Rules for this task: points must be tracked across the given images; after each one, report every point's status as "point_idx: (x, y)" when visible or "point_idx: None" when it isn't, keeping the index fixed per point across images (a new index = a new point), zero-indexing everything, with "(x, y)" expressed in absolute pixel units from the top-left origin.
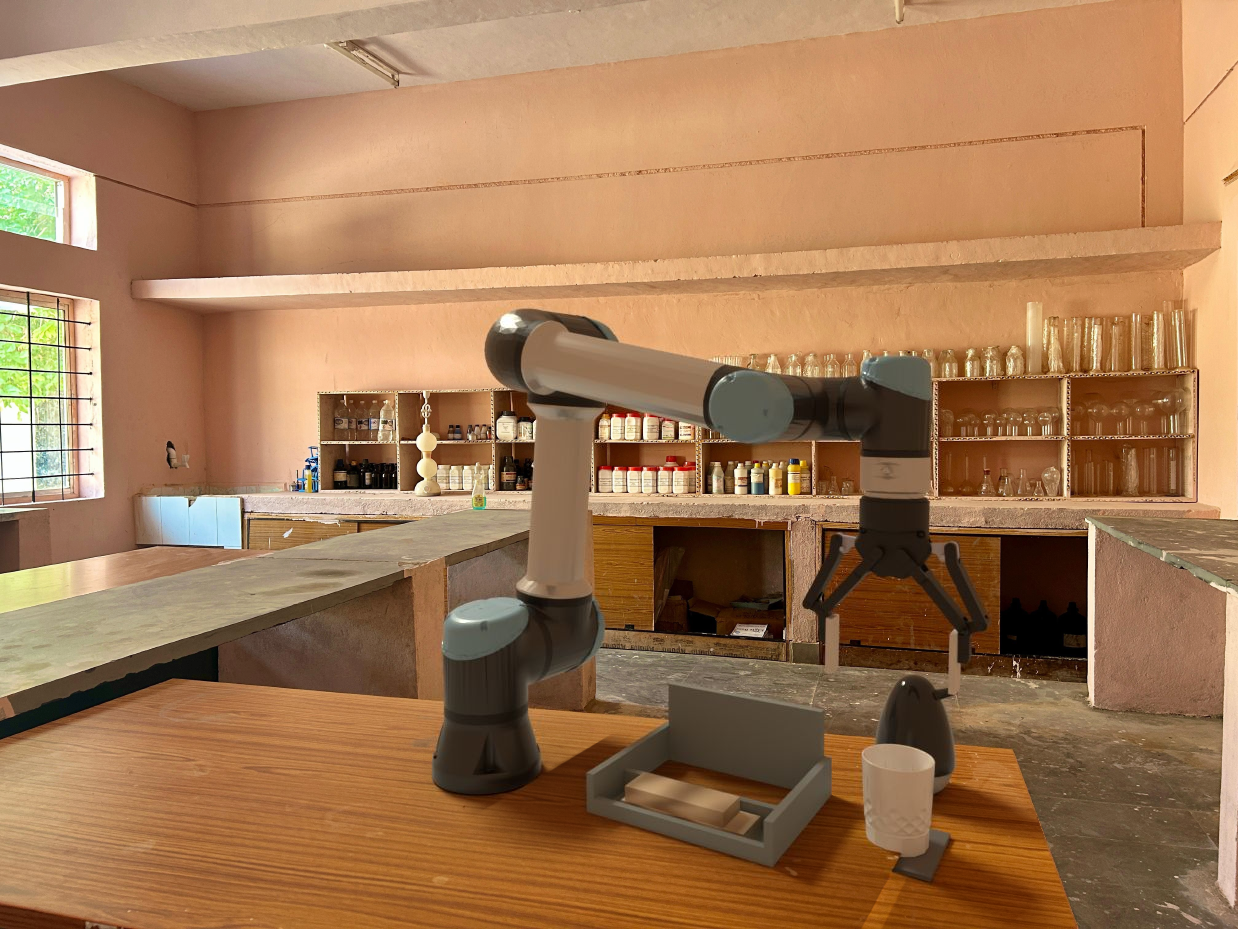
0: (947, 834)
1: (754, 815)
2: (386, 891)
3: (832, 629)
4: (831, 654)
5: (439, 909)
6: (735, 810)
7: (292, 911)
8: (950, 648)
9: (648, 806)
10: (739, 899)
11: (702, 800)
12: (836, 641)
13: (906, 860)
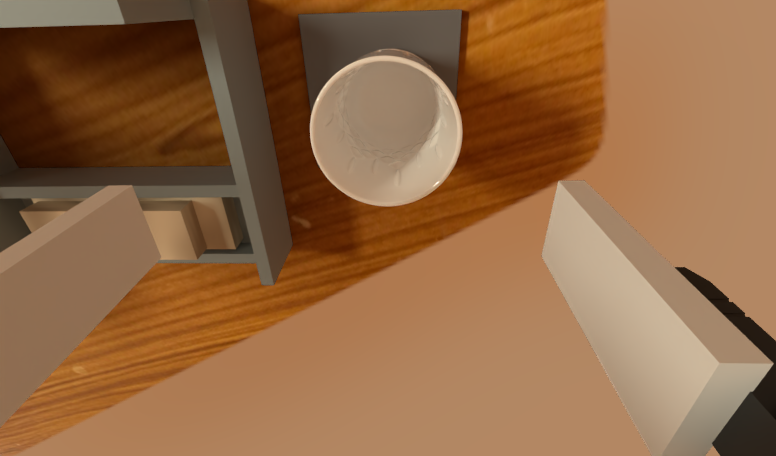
0: (458, 17)
1: (213, 200)
2: (71, 392)
3: (29, 389)
4: (116, 302)
5: (121, 391)
6: (192, 217)
7: (59, 424)
8: (621, 390)
9: None
10: (287, 288)
11: None
12: (57, 279)
13: None
